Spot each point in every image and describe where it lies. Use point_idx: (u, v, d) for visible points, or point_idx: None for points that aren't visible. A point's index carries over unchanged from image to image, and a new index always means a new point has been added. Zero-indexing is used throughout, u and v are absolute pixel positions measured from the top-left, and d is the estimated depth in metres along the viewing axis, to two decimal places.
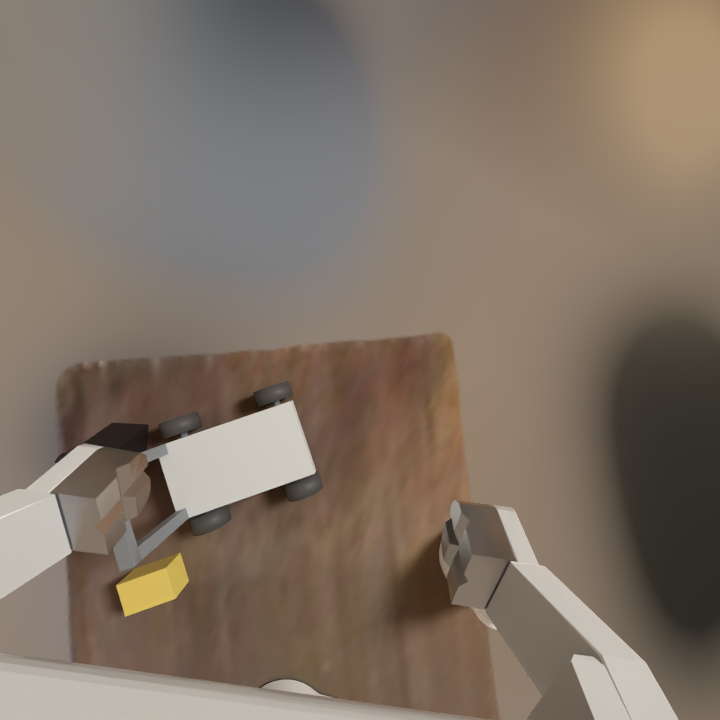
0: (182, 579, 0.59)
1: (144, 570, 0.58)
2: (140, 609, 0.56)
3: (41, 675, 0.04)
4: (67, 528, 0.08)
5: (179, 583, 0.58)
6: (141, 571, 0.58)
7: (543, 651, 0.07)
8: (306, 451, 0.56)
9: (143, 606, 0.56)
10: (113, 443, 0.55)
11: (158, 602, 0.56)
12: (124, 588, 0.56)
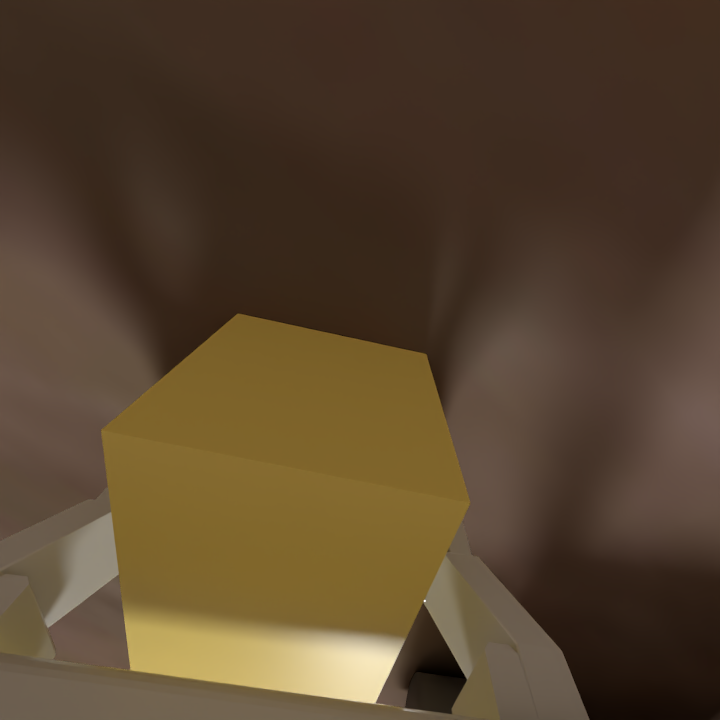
0: None
1: None
2: (131, 557, 0.06)
3: (40, 675, 0.04)
4: None
5: None
6: None
7: (470, 641, 0.07)
8: None
9: (150, 583, 0.06)
10: None
11: (145, 654, 0.07)
12: (388, 541, 0.05)
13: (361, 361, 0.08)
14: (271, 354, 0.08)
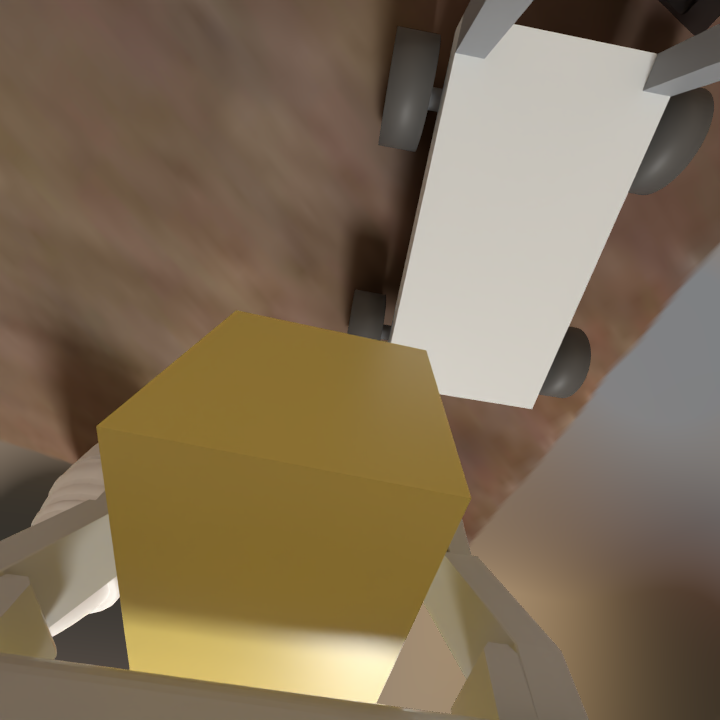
0: None
1: None
2: (128, 555, 0.06)
3: (41, 675, 0.04)
4: None
5: None
6: None
7: (470, 641, 0.07)
8: None
9: (148, 582, 0.06)
10: None
11: (144, 654, 0.07)
12: (387, 538, 0.05)
13: (360, 357, 0.08)
14: (269, 350, 0.07)
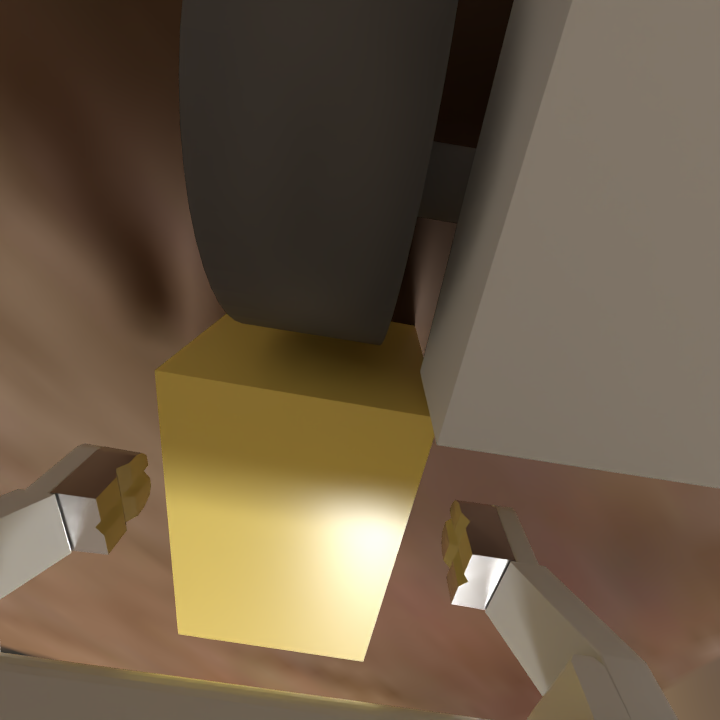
0: None
1: None
2: (176, 481, 0.07)
3: (40, 675, 0.04)
4: (67, 528, 0.08)
5: None
6: None
7: (543, 651, 0.07)
8: None
9: (191, 504, 0.07)
10: None
11: (186, 573, 0.08)
12: (378, 456, 0.07)
13: None
14: None
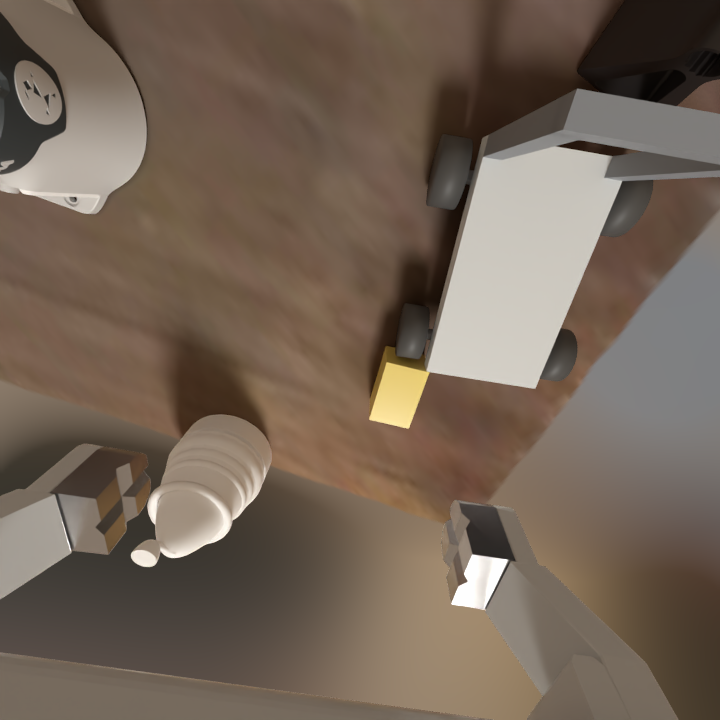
0: None
1: None
2: (382, 381, 0.41)
3: (41, 675, 0.04)
4: (67, 528, 0.08)
5: None
6: None
7: (543, 651, 0.07)
8: (460, 375, 0.39)
9: (384, 386, 0.41)
10: None
11: (377, 402, 0.42)
12: (418, 378, 0.41)
13: None
14: None
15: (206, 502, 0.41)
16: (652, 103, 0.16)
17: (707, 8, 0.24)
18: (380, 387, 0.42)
